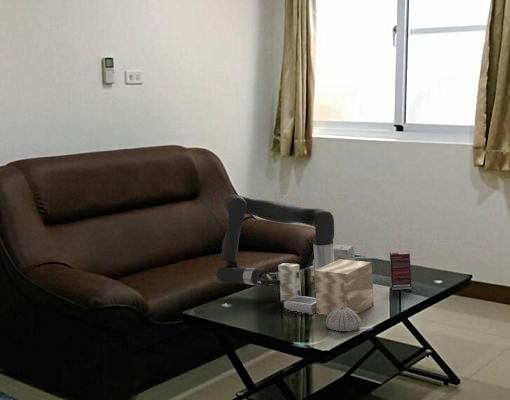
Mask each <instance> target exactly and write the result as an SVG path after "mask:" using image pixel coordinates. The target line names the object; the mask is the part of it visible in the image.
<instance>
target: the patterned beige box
mask: <svg viewBox="0 0 510 400" xmlns="http://www.w3.org/2000/svg"><path fill="white" fill-rule="evenodd" d="M372 264H373V263H372V261H364V260H363V261H361V260H355V261H353V260H343V259H339V260H337V261H335V262H332V263H330V264H328V265H326V266H323V267H321V268H319V269H316V270H314V274H312V275H311V280H312V281H311V282H312V285H313V284H314V287H315V289H313V290H312V296H313V298H316V308H317V312H316V314H317V313H318V314H317V315H321V314H324V315H323V316H328V315H329V314H330V313H331V312H332V311H334V309H336V308H338V307H348V308H350V309H351V310H353V311H354V312H355V313H356V314H357V315H358V314H361V313H362V312H364V311H365V310H367V309H370V307H373V306H374V303H375V302H374V284H373V283H374V282H373V265H372Z"/></svg>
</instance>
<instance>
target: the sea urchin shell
mask: <svg viewBox="0 0 510 400" xmlns="http://www.w3.org/2000/svg"><path fill="white" fill-rule="evenodd" d="M326 316H327V317H326V318H325V319H326V320H325V326H326V328H328V329H330V330H331V329H333V330H332V331H334V330H339V331H338V332H341V331H342V332H343V331H344V332H347V331H348V332H352V330H354V331H355V330H358V329H359V328H360V326H361V323H362V322H361V318H360V317H359V315H358V314H356V313H355V312H354V311H353V310H351V309H350V308H348V307H338V308H336V309H334V311H332V312H331V313H330V314H329V315H326Z"/></svg>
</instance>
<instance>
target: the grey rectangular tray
mask: <svg viewBox="0 0 510 400" xmlns="http://www.w3.org/2000/svg"><path fill="white" fill-rule="evenodd" d="M283 307H284V308H286V309H289V310H291V311H297V312H302V313H301V314H304V313H309V314H308V315H311V314H312V315H314V314H316V313H317V308H316V298H313V297H311V296H302V295H301V296H297V295H296V296H294V297H292V298H290V299H288V300H286V301H284V302H283ZM297 312H296V313H297ZM315 312H316V313H315ZM313 313H314V314H313Z"/></svg>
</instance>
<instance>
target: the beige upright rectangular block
mask: <svg viewBox="0 0 510 400" xmlns="http://www.w3.org/2000/svg"><path fill="white" fill-rule="evenodd" d="M300 271H301V269H300V264H297V263H286V262H283V263H281V264H278V272H279V280H280V283H281V284H280V285H279V294H280V295H279V296H280V301H281V300H285V301H286V300H288V299H290V298H292V297H294V296H296V295H297V296H302V287H301V285H302V284H301V274H300V273H301V272H300Z"/></svg>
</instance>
